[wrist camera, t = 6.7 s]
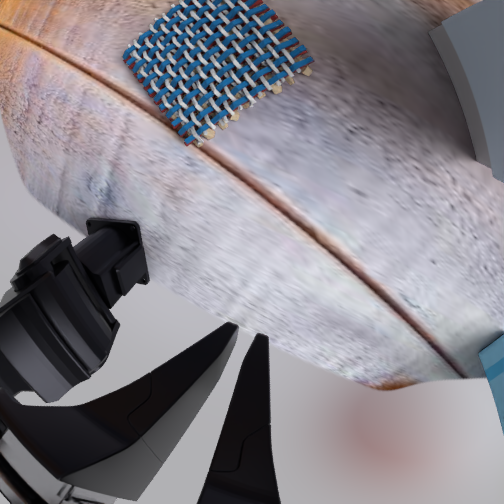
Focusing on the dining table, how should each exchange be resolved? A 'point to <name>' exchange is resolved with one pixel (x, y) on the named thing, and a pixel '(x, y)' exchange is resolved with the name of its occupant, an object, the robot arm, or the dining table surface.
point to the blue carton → (495, 373)
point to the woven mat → (213, 61)
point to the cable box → (462, 92)
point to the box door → (484, 68)
